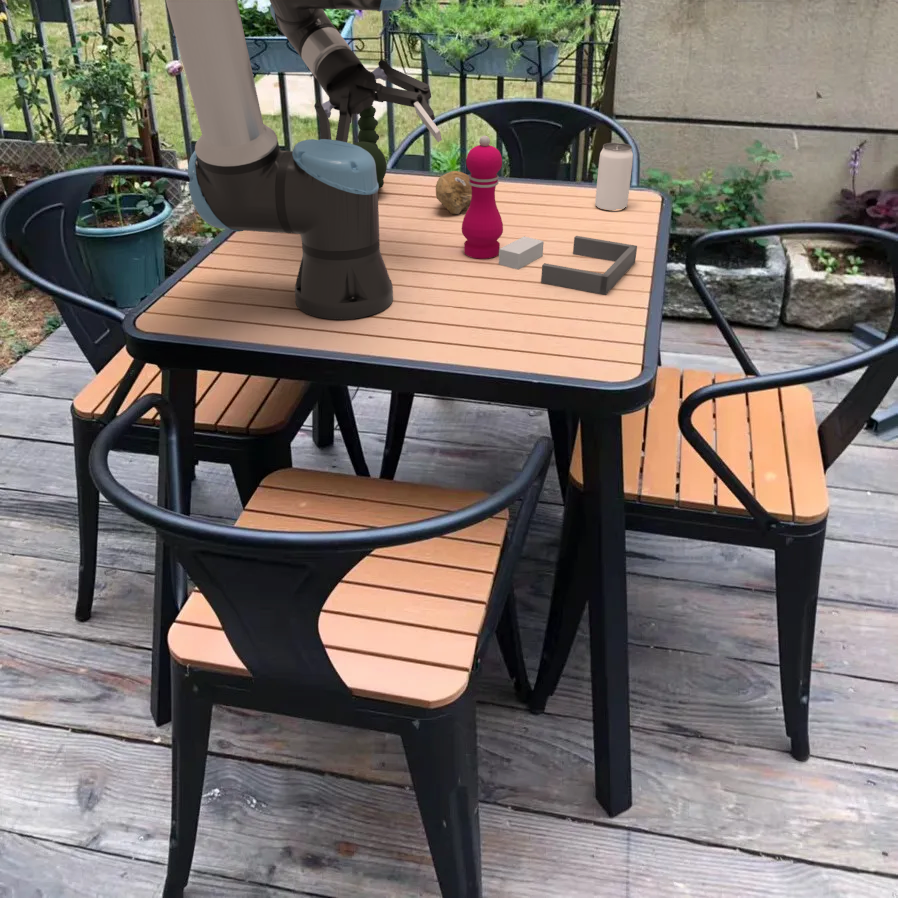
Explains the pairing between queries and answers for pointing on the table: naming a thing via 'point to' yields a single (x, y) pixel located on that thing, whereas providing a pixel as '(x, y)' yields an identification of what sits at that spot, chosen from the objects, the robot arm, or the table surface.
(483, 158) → the pepper mill
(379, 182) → the toy figurine
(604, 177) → the can
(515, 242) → the white block
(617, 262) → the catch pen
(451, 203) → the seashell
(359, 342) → the table surface
